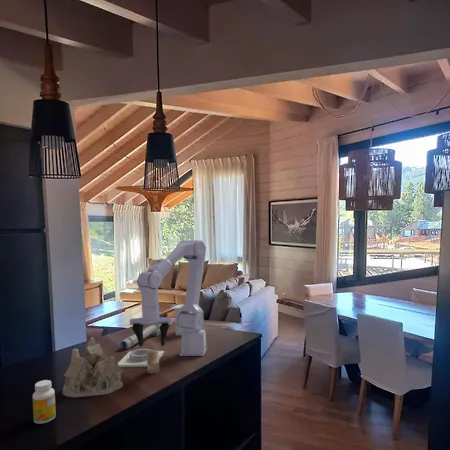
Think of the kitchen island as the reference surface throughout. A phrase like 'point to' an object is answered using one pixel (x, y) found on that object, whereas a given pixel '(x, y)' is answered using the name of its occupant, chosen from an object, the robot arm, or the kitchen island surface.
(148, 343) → the kitchen island surface
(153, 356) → the maple peg
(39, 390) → the supplement bottle
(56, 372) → the kitchen island surface
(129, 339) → the white handheld device
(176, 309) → the supplement box
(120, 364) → the collar plate
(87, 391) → the ceramic cottage
